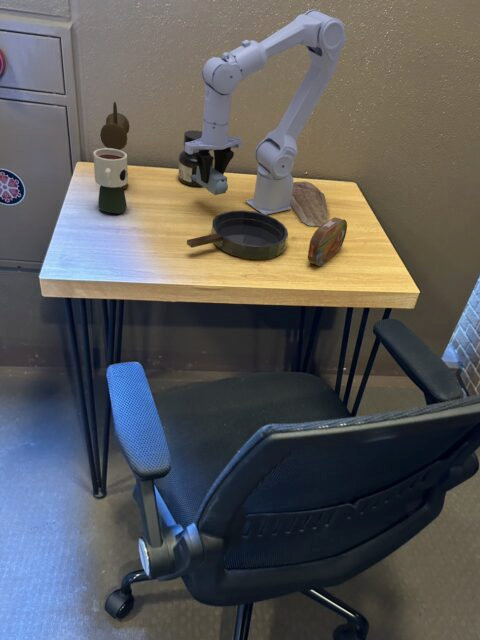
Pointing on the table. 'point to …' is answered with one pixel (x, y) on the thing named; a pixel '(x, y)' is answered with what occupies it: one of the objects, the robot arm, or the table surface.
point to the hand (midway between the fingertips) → (211, 180)
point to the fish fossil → (309, 203)
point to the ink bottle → (189, 160)
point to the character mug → (111, 179)
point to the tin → (327, 241)
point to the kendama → (115, 131)
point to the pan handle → (204, 240)
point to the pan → (250, 234)
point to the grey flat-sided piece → (212, 181)
